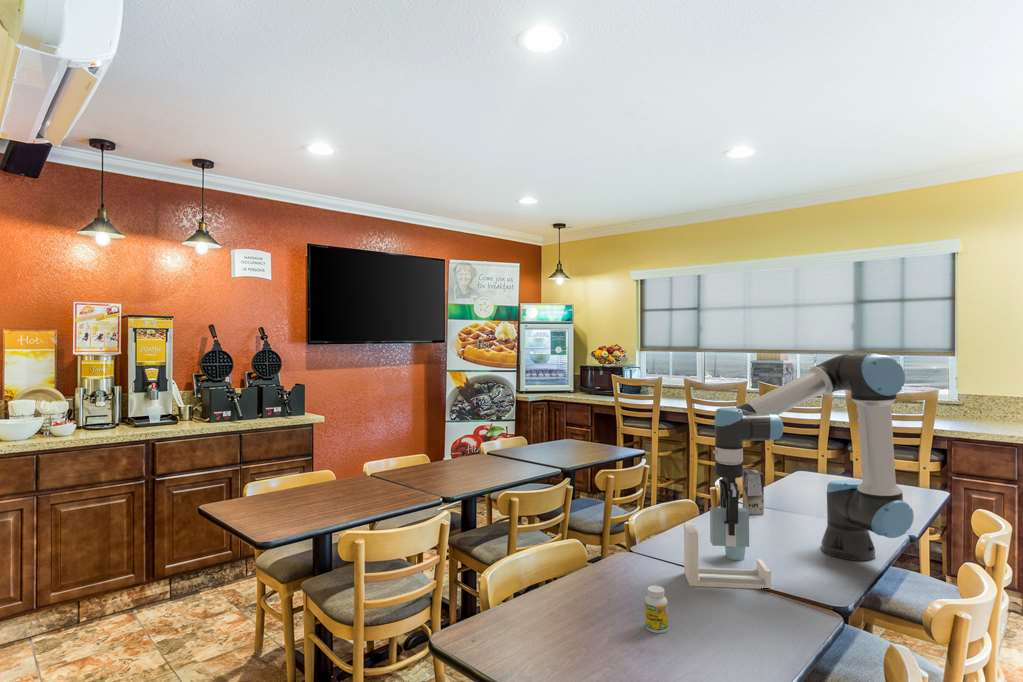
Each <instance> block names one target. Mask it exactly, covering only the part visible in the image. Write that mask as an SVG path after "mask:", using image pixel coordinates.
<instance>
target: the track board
mask: <svg viewBox="0 0 1023 682" xmlns="http://www.w3.org/2000/svg"><path fill="white" fill-rule="evenodd" d="M683 538H684V539H683V562H684V563H683V565H684V568H683V569H684V571H683V572H684V576H685V578H686V580H687V582H688V586H689V587H707V588H708V587H711V588H731V589H732V588H733V589H735V588H736V589H753V590H754V589H755V590H764V589H763V588H771V589H772V571H771V570H770V568H769V566H768V565H766V563H765V561H764V560H763V558H756V564H755V565H756V569H754V568H753V569H750V568H732V567H731V568H729V567H727V568H726V567H725V568H724V567H703V566H702V567H699V532H698V530H697V528H696V527H695V525H694V523H692V522H684V523H683ZM761 588H762V589H761Z"/></svg>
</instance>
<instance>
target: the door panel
mask: <svg viewBox="0 0 1023 682" xmlns="http://www.w3.org/2000/svg"><path fill="white" fill-rule="evenodd" d="M724 521H727V518H726V508H720V506H719V507H715V506H714V507H712V506H710V507H709V530H710V531H709V538H710V539H709V541H710V543H711V545H712V546H713V547H715V546H716V547H725V546H726V524H724ZM736 546H737V547H745V548H749V547H750V514H749V511H748V510H747V509H746V508H743V507H738V524H736Z"/></svg>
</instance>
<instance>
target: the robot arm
mask: <svg viewBox="0 0 1023 682" xmlns="http://www.w3.org/2000/svg"><path fill="white" fill-rule="evenodd" d="M905 382H906V374H905V370H904V368H903V366H902V365H901V363H900V362H899V361H898V360H896V359H895V358H894V357H892V356H890V355H885V354H879V353H844V354H840V355H837V356H835V357H831V358H830V359H827V360H825V361H823V362H821V363H819V364H817V365H815V366H813V367H811V368H810V369H809V371H808V373H806V374H805V373H804V375H801V376H799V377H798V378H795V379H793V380H791V381H789V382H787V383H785V384H783V385H781V386H779V387H777V388H775V389H773V390H770V391H768V392H766V393H764V394H762V395H760V396H758V397H756V398H753V399H752V400H750V401H748V402H746V403H744V404H742V405H738V406H737V407H733V406H731V407H719V408H717V409H716V410H715V415H714V423H713V425H714V450H712V453H713V454H714V460H715V463H714V473H715V476H717V477H720V478H721V479H720V478H719V482H718V483H719V496H720V497H719V503H720V504H719V507H720V508H726V518H727V521H724V524H726V546H735V547H736V524H738V508H739V498H740V497H739V496H740V491H739V487H738V483H737V482H736V479H738V478H739V479H740V478H742V476H743V469H744V465H743V462H744V447H743V446H744V442H747V441H749V442H750V441H751V442H752V441H767V442H769V441H773V440H779V439H780V438H782V436H783V433H784V422H783V420H782V418H781V417H780V416H779V415H781V414H784V413H785V412H787V411H789V410H791V409H794V408H795V407H797V406H800V405H802V404H805V402H808V401H810V400H811V399H814V398H816V397H818V396H820V395H825V396H827V395H830V394H832V393H835V392H839V391H850V397H851V399H850V400H852V402H854V403H855V404H856V405H857V416H858V421H857V422H858V434H859V435H858V436H859V448H860V450H859V451H860V463H861V465H860V466H861V480H854V479H853V480H852V479H837V480H831V481H830V482H828V483H827V487H826V488H827V489H826V515H827V517H826V518H827V519H826V521H827V522H826V523H827V524H826V528H825V531H824V533H823V537H822V539H821V541H820V542H821V546H820V548H821V550H822V551H823V552H824V553H826V554H828V555H830V556H832V557H835V558H839V559H844V560H848V561H849V560H851V561H870V560H873V559H874V558H876V548H875V545H874V543H873V540H872V537H871V534H870V532H872V533H874V534H876V535H877V536H881V537H885V538H888V539H897V538H900V537H903V536H904V535H905V534H906V533H907V532H908V531H909V530H910V529H911V527H912V525H913V522H914V517H915V516H914V509H913V508H912V506H910V504H909V503H907V502H906V501H904V497H903V496H904V495H903V490H902V489H901V488H900V487H899V485H897V480H896V479H897V478H896V466H895V465H896V464H895V462H896V461H895V450H894V449H895V447H894V432H893V417H892V404H893V403H894V402H896V401H897V394H898V393H900V392H901V391H902V389H903V387H904V385H905Z"/></svg>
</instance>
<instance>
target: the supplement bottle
mask: <svg viewBox="0 0 1023 682" xmlns="http://www.w3.org/2000/svg"><path fill="white" fill-rule="evenodd" d="M646 593H647V595H646V596H645V598H644V620H645V621H644V623H645V628H646V630H647V631H650V632H652V633H654V634H661V633H665V632H667V631H668V629H669V616H668V615H669V613H668V611H669V610H668V609H669V608H668V599H667V598H666V596H665V589H664V587H662V586H660V585H650V586H647V591H646Z"/></svg>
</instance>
